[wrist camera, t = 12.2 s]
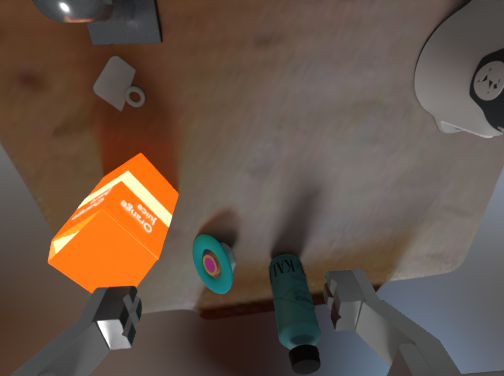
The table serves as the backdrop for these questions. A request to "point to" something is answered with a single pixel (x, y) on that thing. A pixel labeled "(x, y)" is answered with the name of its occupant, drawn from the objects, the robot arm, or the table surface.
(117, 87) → the mounting bracket
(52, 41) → the table surface
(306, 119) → the table surface
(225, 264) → the ornament
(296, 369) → the beverage bottle
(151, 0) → the grey windowed jig
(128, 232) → the orange juice
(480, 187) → the table surface
